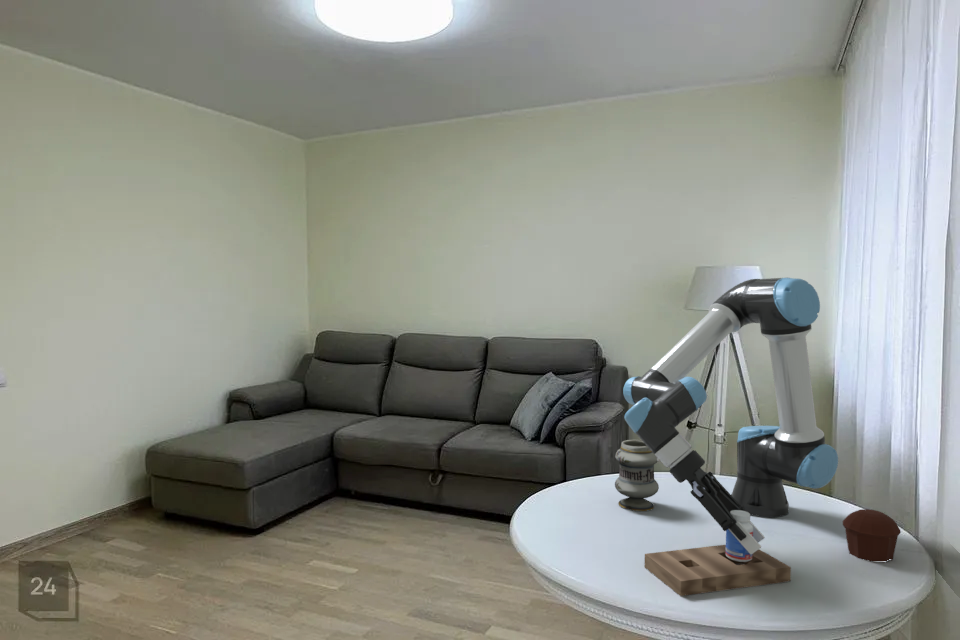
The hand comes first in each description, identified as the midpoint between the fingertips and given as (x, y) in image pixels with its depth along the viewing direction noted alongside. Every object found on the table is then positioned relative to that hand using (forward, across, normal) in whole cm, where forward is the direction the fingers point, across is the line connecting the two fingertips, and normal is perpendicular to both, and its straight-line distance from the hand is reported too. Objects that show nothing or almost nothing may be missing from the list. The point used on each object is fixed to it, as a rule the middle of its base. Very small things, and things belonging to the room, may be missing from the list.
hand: (757, 545), depth 137 cm
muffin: (+20, -25, +10) cm, 33 cm away
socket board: (-1, +4, -10) cm, 11 cm away
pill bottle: (0, 0, -5) cm, 5 cm away
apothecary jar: (-20, -32, -30) cm, 48 cm away
